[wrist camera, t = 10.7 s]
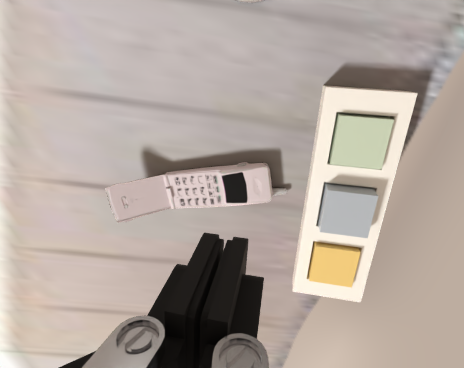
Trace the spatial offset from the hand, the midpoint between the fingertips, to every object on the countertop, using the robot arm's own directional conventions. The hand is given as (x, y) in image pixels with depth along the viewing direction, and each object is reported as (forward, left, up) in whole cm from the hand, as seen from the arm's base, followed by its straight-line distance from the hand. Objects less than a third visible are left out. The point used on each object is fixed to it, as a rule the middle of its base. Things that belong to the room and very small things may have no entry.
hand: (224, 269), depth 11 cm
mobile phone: (+10, -9, -33) cm, 35 cm away
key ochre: (+19, +11, -31) cm, 38 cm away
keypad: (+10, +11, -32) cm, 35 cm away
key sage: (+1, +11, -31) cm, 33 cm away
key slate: (+10, +11, -30) cm, 33 cm away
